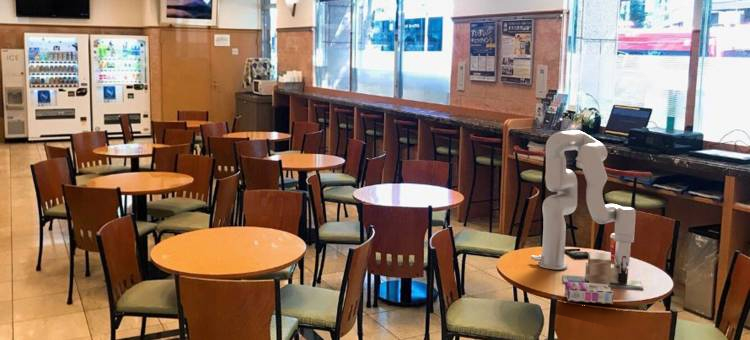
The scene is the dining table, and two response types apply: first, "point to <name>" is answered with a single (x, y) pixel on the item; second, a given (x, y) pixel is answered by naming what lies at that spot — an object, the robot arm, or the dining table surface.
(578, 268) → the dining table surface
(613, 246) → the paper cup
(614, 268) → the block
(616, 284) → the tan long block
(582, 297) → the candy bar box
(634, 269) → the dining table surface
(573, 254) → the battery charger
